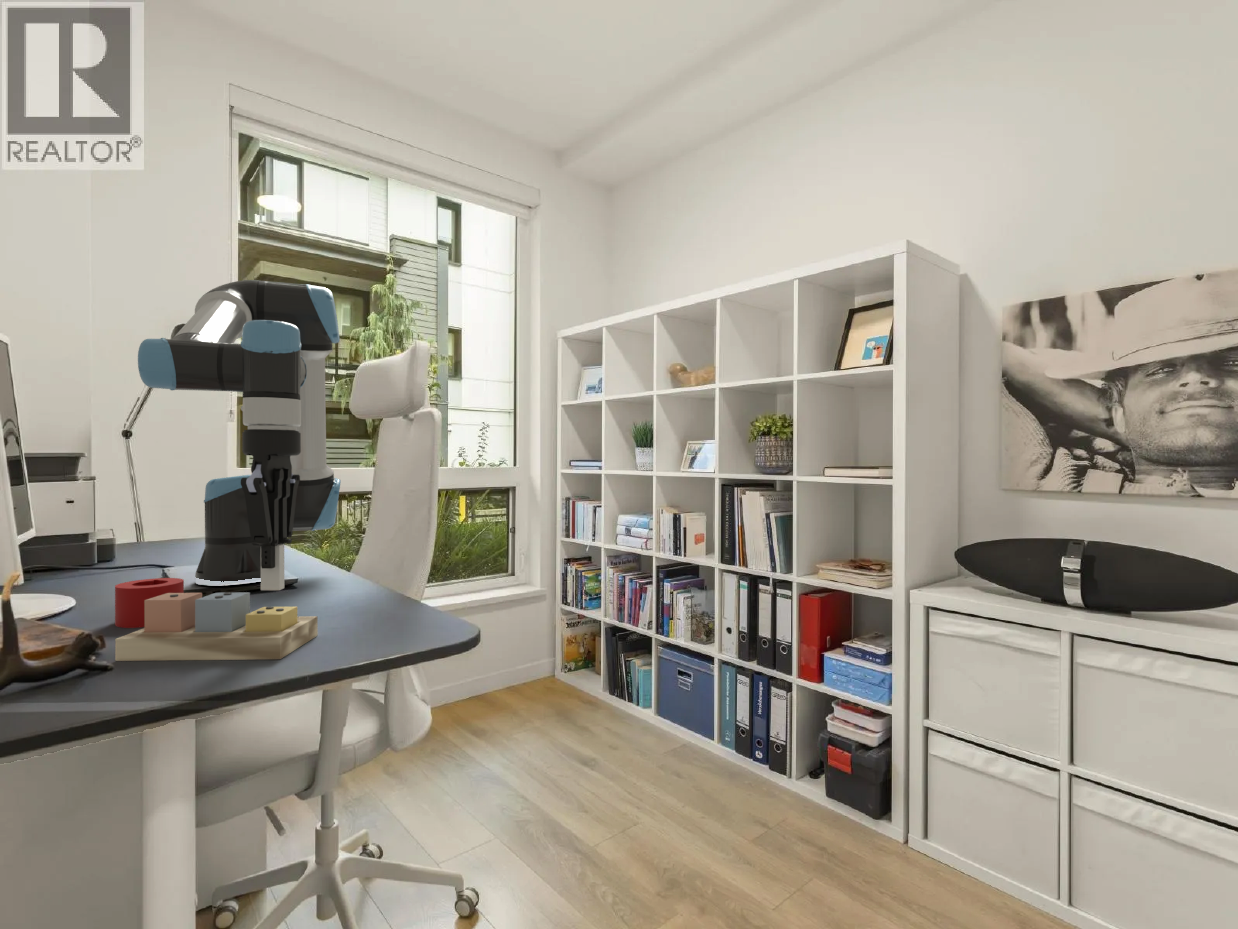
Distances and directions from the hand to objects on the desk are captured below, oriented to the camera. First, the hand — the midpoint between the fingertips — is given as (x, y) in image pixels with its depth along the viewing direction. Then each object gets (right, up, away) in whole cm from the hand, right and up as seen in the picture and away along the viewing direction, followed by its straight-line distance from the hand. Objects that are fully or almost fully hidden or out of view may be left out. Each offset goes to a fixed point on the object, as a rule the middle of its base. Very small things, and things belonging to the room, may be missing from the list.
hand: (272, 589), depth 95 cm
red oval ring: (-30, -9, +19) cm, 36 cm away
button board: (-7, -8, -1) cm, 11 cm away
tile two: (-7, -6, -1) cm, 9 cm away
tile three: (0, -8, 0) cm, 8 cm away
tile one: (-14, -6, -1) cm, 15 cm away
